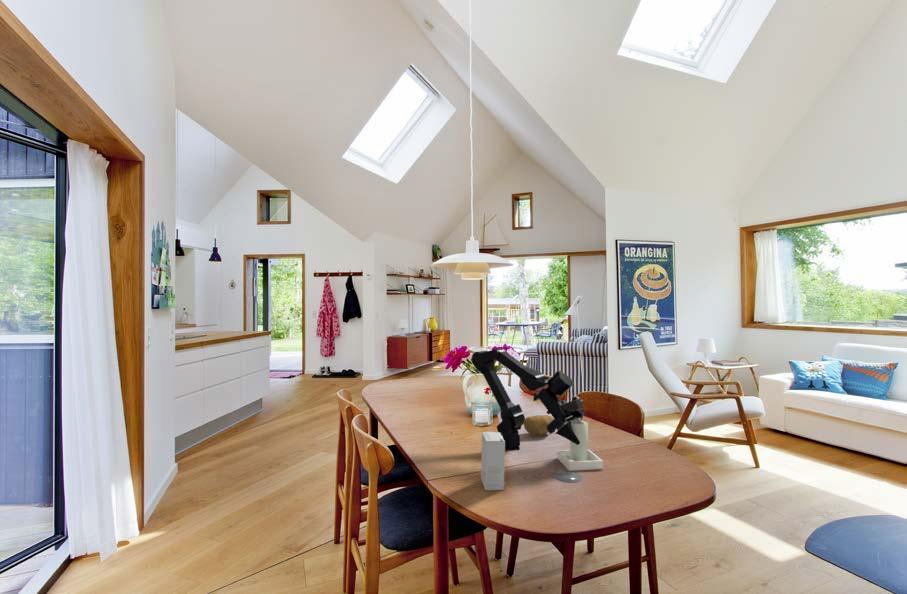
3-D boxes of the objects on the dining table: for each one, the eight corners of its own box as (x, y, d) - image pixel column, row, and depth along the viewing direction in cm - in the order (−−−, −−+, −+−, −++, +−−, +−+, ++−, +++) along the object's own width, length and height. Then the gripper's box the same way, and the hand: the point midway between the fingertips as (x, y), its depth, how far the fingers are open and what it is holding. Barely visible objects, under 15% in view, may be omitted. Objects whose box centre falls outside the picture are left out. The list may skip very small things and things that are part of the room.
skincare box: (480, 480, 137) (480, 431, 137) (499, 479, 138) (499, 431, 138) (485, 491, 129) (485, 440, 129) (505, 490, 129) (505, 439, 129)
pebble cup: (579, 463, 145) (579, 421, 145) (566, 457, 150) (566, 417, 150) (591, 459, 148) (591, 419, 148) (579, 454, 153) (579, 415, 153)
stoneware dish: (569, 472, 143) (569, 462, 143) (557, 459, 154) (557, 450, 154) (603, 470, 144) (603, 460, 144) (588, 458, 155) (588, 449, 155)
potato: (560, 435, 182) (560, 416, 182) (532, 440, 176) (532, 420, 176) (546, 429, 191) (545, 410, 191) (518, 433, 184) (518, 414, 185)
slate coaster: (558, 485, 133) (558, 483, 133) (548, 473, 142) (548, 471, 142) (587, 483, 134) (587, 481, 134) (576, 472, 143) (576, 470, 143)
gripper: (554, 393, 145) (587, 434, 138) (580, 385, 159) (610, 422, 152) (533, 413, 150) (563, 454, 143) (559, 404, 164) (588, 440, 157)
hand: (582, 441), depth 148 cm, fingers closed on pebble cup, 5 cm apart
